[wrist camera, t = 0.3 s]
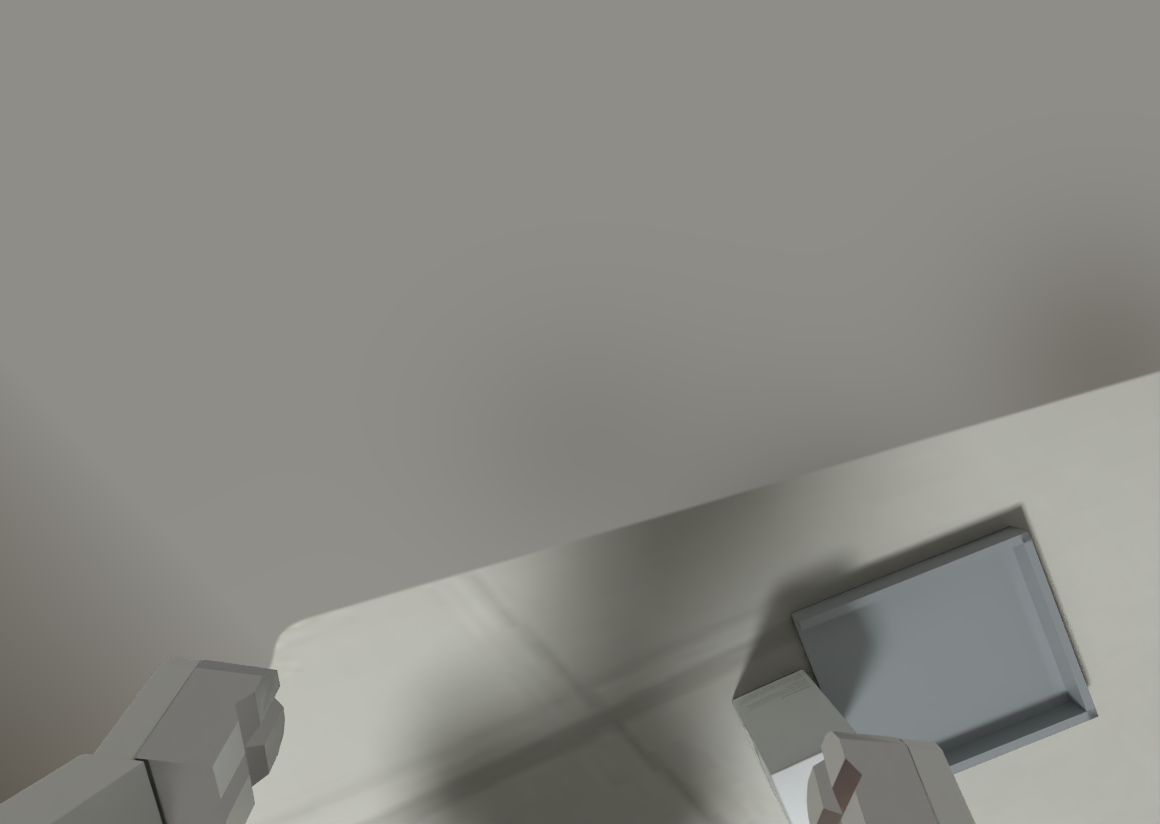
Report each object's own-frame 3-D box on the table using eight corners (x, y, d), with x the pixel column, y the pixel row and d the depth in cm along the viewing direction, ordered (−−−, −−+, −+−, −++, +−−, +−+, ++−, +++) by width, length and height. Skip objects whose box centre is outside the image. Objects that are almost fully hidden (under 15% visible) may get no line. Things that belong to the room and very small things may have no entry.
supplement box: (728, 698, 64) (768, 772, 52) (803, 666, 64) (861, 732, 52) (760, 772, 65) (807, 863, 52) (834, 740, 65) (899, 823, 52)
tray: (1077, 704, 65) (1098, 716, 62) (859, 791, 65) (871, 807, 62) (1010, 526, 64) (1028, 531, 62) (790, 613, 64) (799, 622, 62)
